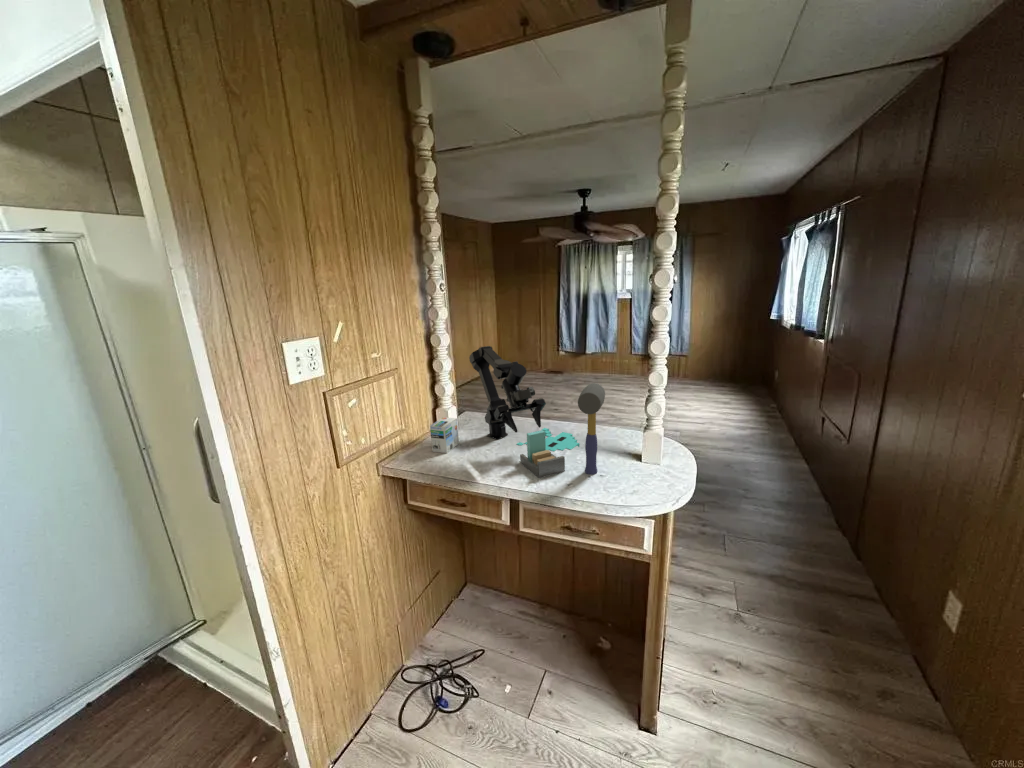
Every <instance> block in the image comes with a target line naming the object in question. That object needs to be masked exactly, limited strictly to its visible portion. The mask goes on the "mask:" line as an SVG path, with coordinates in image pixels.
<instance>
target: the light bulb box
mask: <svg viewBox="0 0 1024 768" xmlns="http://www.w3.org/2000/svg"><path fill="white" fill-rule="evenodd" d="M429 430H430V440H431V452H434V453H441V454H448V453H449V452H450V451H452V450H453V449H455V447H456V446H457V445H459V443H460V441H459V425H458V418H457V417H446V416H442V417H441V418H439V419H437V420H436V421H435V422H433V423H432V424H430V425H429Z"/></svg>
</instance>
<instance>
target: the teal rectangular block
mask: <svg viewBox="0 0 1024 768" xmlns="http://www.w3.org/2000/svg"><path fill="white" fill-rule="evenodd" d="M545 439H546V436H545V431H543V430H542V429H541V430H537V431H531V432H528V433H526V442H527V444H526V446H527V452H526V453H527V458H529V459H530V460H531V461H532V454H533V453H537V452H541V451H545V450H546V443H545Z"/></svg>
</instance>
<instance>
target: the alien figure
mask: <svg viewBox="0 0 1024 768" xmlns="http://www.w3.org/2000/svg"><path fill="white" fill-rule="evenodd" d="M541 430H543V431H545V443H546V450H549V451H550V452H555V451H557V450H558V451H564V450H570V451H572V450H573V449H574V448H575V447H578V448H580V442H578V439H576V436H573V433H569V432H564V431H561V433H559V434H557V435H555V436H553V434H552V432H551V431H550V428H547V427H544V428H542V429H541ZM516 445H517V446H523V445H527V441H526V442H520V441H519V442H517V443H516Z"/></svg>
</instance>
